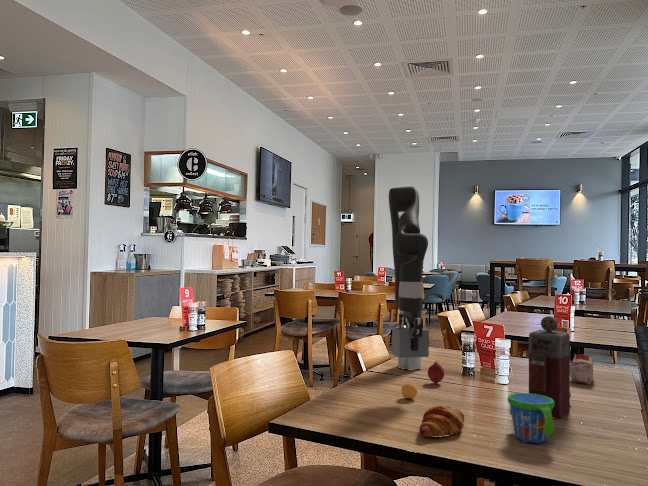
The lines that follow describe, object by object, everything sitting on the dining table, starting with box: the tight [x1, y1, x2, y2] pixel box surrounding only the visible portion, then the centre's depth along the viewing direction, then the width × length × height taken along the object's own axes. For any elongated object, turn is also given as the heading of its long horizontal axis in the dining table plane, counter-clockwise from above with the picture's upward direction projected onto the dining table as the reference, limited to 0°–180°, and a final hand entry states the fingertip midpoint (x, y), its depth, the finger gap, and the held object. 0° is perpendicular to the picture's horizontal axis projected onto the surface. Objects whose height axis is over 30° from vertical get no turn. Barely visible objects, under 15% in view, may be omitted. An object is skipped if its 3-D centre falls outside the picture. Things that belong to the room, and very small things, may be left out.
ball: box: [400, 382, 418, 399], centre depth 159 cm, size 5×5×5 cm
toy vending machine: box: [528, 315, 571, 420], centre depth 146 cm, size 9×11×28 cm
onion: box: [427, 360, 445, 384], centre depth 179 cm, size 6×6×8 cm
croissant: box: [418, 405, 465, 437], centre depth 131 cm, size 21×10×8 cm, turn 139°
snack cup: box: [507, 392, 555, 444], centre depth 125 cm, size 16×10×10 cm
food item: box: [570, 353, 594, 385], centre depth 187 cm, size 14×8×10 cm, turn 152°
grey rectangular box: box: [391, 327, 430, 358], centre depth 160 cm, size 6×10×8 cm, turn 103°
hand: (410, 348), depth 159 cm, fingers closed on grey rectangular box, 6 cm apart
